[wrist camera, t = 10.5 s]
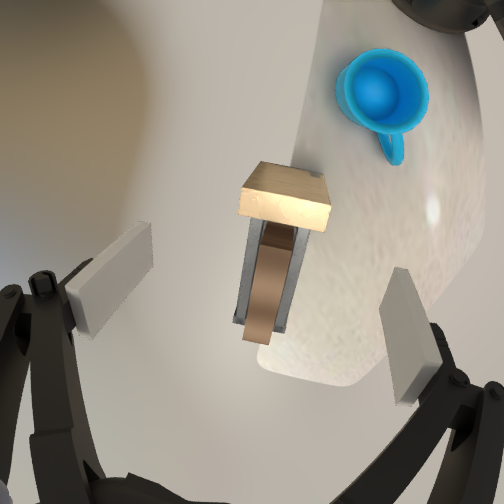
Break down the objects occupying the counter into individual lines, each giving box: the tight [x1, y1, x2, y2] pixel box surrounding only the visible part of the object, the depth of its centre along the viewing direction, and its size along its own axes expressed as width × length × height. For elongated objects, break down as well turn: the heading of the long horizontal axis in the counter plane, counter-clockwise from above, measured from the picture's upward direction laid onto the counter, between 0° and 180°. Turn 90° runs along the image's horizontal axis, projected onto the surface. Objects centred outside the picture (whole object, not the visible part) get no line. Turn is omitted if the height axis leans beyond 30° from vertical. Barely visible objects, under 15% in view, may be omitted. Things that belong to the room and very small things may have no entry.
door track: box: [233, 161, 331, 334], centre depth 36 cm, size 22×7×12 cm, turn 171°
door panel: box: [243, 221, 295, 345], centre depth 36 cm, size 12×3×10 cm, turn 171°
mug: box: [335, 49, 429, 166], centre depth 28 cm, size 12×8×8 cm
